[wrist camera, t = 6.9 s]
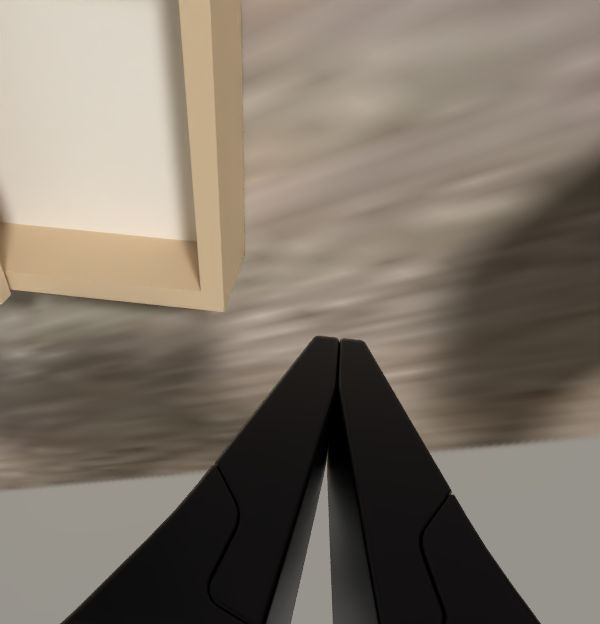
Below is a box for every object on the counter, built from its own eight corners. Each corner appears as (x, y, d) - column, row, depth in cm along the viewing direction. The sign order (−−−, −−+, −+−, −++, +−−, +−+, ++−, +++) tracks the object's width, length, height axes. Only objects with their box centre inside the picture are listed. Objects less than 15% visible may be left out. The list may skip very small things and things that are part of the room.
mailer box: (239, -155, 14) (201, -176, 11) (244, 255, 22) (224, 312, 19) (-244, -184, 15) (-408, -211, 12) (-72, 223, 23) (-144, 273, 20)
